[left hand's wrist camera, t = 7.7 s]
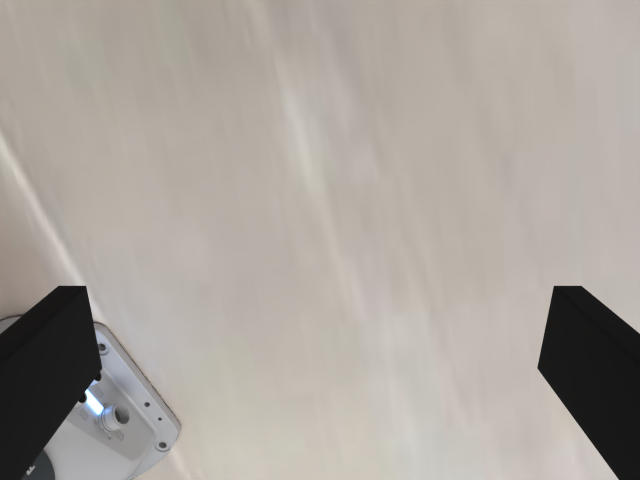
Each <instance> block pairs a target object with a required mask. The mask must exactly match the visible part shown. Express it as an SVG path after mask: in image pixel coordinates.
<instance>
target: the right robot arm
mask: <svg viewBox="0 0 640 480" xmlns="http://www.w3.org/2000/svg"><path fill="white" fill-rule="evenodd" d="M20 317H21V316H20ZM20 317H13V318H9V319H5V320H2V321H0V334H1V333H2V332H3V331H4V330H6V329H7V328H8V327H9V326H10V325H12V324H13V323H14V322H15V321H17V320H18V319H19V318H20ZM94 328H95V333H96V338H97V343H98V348H99V353H100V358H101V363H102V370H101V371H100V372H99V374H98V375H97V377H96V378H95V379H94V381H93V382H92V383H91V385H90V386H89V387H88V389H87V390H86V392H85V393H84V394H83V396H82V397H81V398H80V400H79V401H78V402H77V404H76V405H75V407H74V408H73V409H72V411H71V412H70V413H69V415H68V416H67V417H66V419H65V420H64V422H63V423H62V424H61V426H60V427H59V428H58V430H57V431H56V433H55V434H54V435H53V437H52V438H51V439H50V441H49V442H48V443H47V445H46V446H45V448H44V449H43V450H42V452H41V453H40V454H39V456H38V457H37V458H36V460H35V461H34V463H33V464H32V465H31V467H30V468H29V469H28V471H27V472H26V473H25V475H24V476H23V478H22V479H21V480H131V479H133V478H135V477H137V476H139V475H141V474H142V473H144V472H146V471H147V470H149V469H150V468H152V467H153V466H154V465H156V464H157V463H158V462H159V461H160V460H161V459H162V458H164V457H165V456H166V454H167V453H168V452H169V451H170V450H171V448H172V447H173V445H174V443H175V441H176V440H177V438H178V435H179V433H180V429H181V426H180V424H179V422H178V420H177V419H176V418H175V416H174V415H173V414H172V412H171V411H170V410H169V408H168V407H167V406H166V404H165V403H164V402H163V401H162V399H161V398H160V397H159V395H158V394H157V393H156V391H155V390H154V389H153V387H152V386H151V385H150V383H149V382H148V381H147V380H146V378H145V377H144V376H143V374H142V373H141V372H140V370H139V369H138V368H137V366H136V365H135V364H134V362H133V361H132V360H131V359H130V357H129V356H128V355H127V353H126V352H125V351H124V349H123V348H122V347H121V345H120V344H119V343H118V341H117V340H116V339H115V338H114V336H113V335H112V334H111V332H110V331H109V330H108V329H107V328H106V327H105V326H103V325H101V324H97V323H94ZM101 344H104V345H105V346H106V347H104V346H102V345H101ZM163 442H164V443H163Z"/></svg>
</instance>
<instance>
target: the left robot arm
mask: <svg viewBox="0 0 640 480" xmlns="http://www.w3.org/2000/svg"><path fill="white" fill-rule="evenodd" d="M101 370H102V363H101V358H100V353H99V348H98V343H97V338H96V333H95V328H94V323H93V318H92V313H91V308H90V303H89V298H88V293H87V288H86V286H58V287H57V288H56V289H54V290H53V291H52V292H51V293H49V294H48V295H47V296H46V297H45V298H43V299H42V300H41V301H40V302H38V303H37V304H36V305H35V306H34V307H32V308H31V309H30V310H29V311H28V312H26V313H25V314H24V315H23V316H21V317H20V318H19V319H18V320H17V321H15V322H14V323H13V324H12V325H10V326H9V327H8V328H7V329H6V330H4V331H3V332H2V333H1V334H0V480H21V479H22V478H23V476H24V475H25V473H26V472H27V471H28V469H29V468H30V467H31V465H32V464H33V463H34V461H35V460H36V458H37V457H38V456H39V454H40V453H41V452H42V450H43V449H44V448H45V446H46V445H47V443H48V442H49V441H50V439H51V438H52V437H53V435H54V434H55V433H56V431H57V430H58V428H59V427H60V426H61V424H62V423H63V422H64V420H65V419H66V417H67V416H68V415H69V413H70V412H71V411H72V409H73V408H74V407H75V405H76V404H77V402H78V401H79V400H80V398H81V397H82V396H83V394H84V393H85V392H86V390H87V389H88V387H89V386H90V385H91V383H92V382H93V381H94V379H95V378H96V377H97V375H98V374H99V372H100V371H101ZM538 370H539V371H540V372H541V374H542V375H543V377H544V378H545V379H546V381H547V382H548V383H549V385H550V386H551V387H552V389H553V390H554V392H555V393H556V394H557V396H558V397H559V398H560V400H561V401H562V402H563V404H564V405H565V407H566V408H567V409H568V411H569V412H570V413H571V415H572V416H573V417H574V419H575V420H576V422H577V423H578V424H579V426H580V427H581V428H582V430H583V431H584V433H585V434H586V435H587V437H588V438H589V439H590V441H591V442H592V443H593V445H594V446H595V448H596V449H597V450H598V452H599V453H600V454H601V456H602V457H603V458H604V460H605V461H606V463H607V464H608V465H609V467H610V468H611V469H612V471H613V472H614V473H615V475H616V476H617V478H618V479H619V480H640V334H639V333H638V332H637V331H636V330H634V329H633V328H632V327H631V326H630V325H628V324H627V323H626V322H625V321H623V320H622V319H621V318H620V317H619V316H617V315H616V314H615V313H614V312H612V311H611V310H610V309H609V308H608V307H606V306H605V305H604V304H603V303H601V302H600V301H599V300H598V299H597V298H595V297H594V296H593V295H592V294H591V293H589V292H588V291H587V290H586V289H584V288H583V287H582V286H554V288H553V293H552V298H551V303H550V308H549V313H548V318H547V323H546V328H545V333H544V338H543V343H542V348H541V353H540V358H539V363H538Z"/></svg>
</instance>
